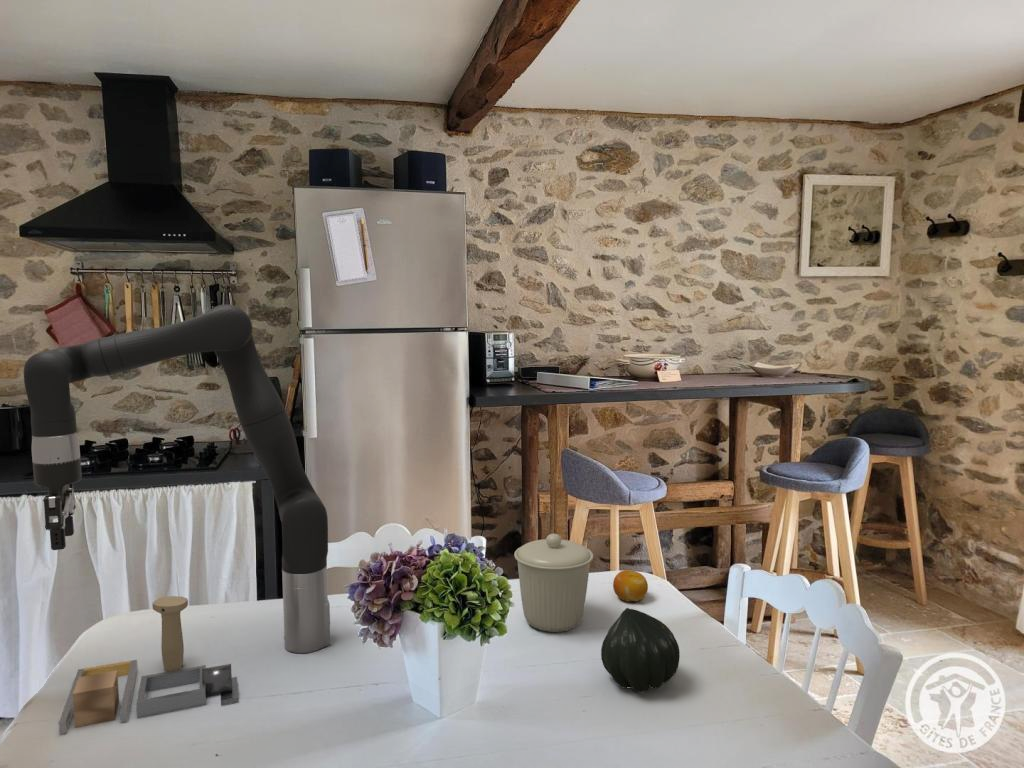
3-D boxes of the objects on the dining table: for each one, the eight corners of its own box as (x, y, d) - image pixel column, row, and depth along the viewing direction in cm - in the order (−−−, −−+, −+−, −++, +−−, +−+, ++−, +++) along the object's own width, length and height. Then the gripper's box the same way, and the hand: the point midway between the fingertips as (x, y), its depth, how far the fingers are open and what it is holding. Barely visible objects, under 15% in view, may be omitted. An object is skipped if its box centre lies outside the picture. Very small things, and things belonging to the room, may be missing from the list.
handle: (181, 681, 139) (178, 607, 137) (151, 678, 140) (147, 605, 138) (195, 668, 144) (192, 597, 142) (166, 666, 145) (162, 595, 143)
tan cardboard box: (119, 701, 129) (117, 670, 129) (115, 719, 124) (113, 686, 123) (80, 709, 127) (78, 677, 126) (74, 727, 121) (72, 694, 121)
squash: (703, 670, 133) (671, 593, 140) (634, 690, 127) (604, 608, 135) (670, 690, 143) (641, 617, 151) (605, 709, 138) (579, 632, 146)
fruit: (639, 596, 172) (635, 563, 176) (608, 601, 176) (605, 569, 180) (655, 602, 178) (651, 570, 182) (624, 607, 182) (621, 575, 186)
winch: (236, 679, 140) (235, 652, 139) (238, 705, 131) (237, 676, 130) (142, 696, 133) (141, 668, 133) (137, 725, 124) (136, 695, 124)
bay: (137, 676, 141) (136, 659, 140) (127, 728, 123) (126, 709, 123) (79, 686, 137) (78, 669, 136) (60, 742, 119) (58, 722, 119)
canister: (596, 641, 156) (597, 547, 154) (513, 640, 156) (513, 547, 154) (588, 606, 174) (589, 522, 172) (514, 606, 174) (514, 522, 172)
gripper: (73, 463, 127) (79, 551, 129) (86, 449, 141) (91, 529, 142) (23, 467, 125) (30, 557, 126) (41, 452, 138) (47, 533, 139)
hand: (63, 542), depth 134 cm, fingers open, 8 cm apart
